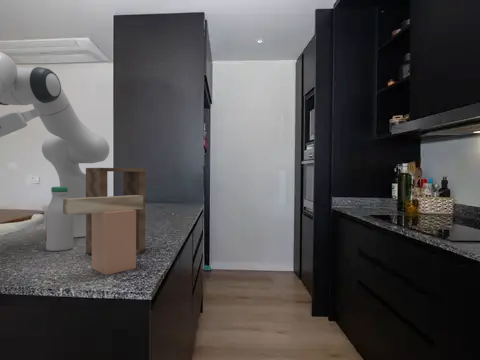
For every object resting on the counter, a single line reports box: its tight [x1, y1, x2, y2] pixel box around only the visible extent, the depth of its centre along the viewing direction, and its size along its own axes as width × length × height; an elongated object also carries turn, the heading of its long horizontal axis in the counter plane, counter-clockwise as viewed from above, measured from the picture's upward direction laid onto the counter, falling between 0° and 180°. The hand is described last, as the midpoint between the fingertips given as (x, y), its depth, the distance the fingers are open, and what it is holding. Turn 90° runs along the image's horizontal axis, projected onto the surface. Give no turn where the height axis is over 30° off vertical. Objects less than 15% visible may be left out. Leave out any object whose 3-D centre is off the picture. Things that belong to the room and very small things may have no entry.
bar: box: [63, 195, 143, 215], centre depth 84 cm, size 4×19×4 cm, turn 137°
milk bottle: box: [45, 186, 74, 252], centre depth 107 cm, size 8×8×20 cm
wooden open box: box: [85, 167, 146, 258], centre depth 102 cm, size 10×14×26 cm
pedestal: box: [91, 210, 137, 276], centre depth 86 cm, size 8×8×15 cm
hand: (32, 114), depth 79 cm, fingers open, 8 cm apart
